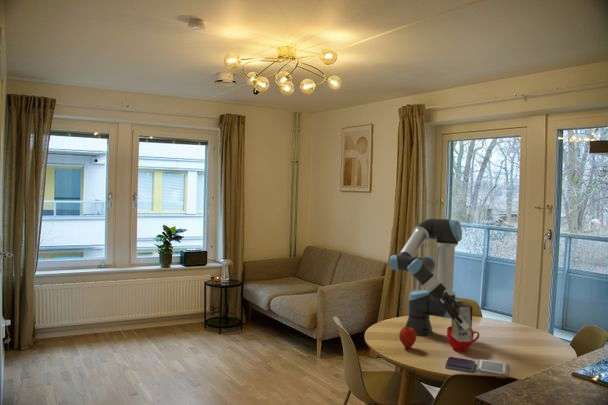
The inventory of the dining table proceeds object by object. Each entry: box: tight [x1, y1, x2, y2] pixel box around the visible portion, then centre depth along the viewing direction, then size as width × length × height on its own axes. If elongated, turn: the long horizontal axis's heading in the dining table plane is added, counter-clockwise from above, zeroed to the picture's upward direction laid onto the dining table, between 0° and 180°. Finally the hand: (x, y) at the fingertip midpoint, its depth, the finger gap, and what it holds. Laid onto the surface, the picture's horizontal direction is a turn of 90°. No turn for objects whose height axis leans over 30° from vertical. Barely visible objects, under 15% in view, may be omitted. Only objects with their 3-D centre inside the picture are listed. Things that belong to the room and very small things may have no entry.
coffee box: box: [451, 301, 473, 342], centre depth 218 cm, size 9×6×16 cm
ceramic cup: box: [446, 325, 480, 352], centre depth 242 cm, size 13×17×10 cm
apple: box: [398, 326, 417, 349], centre depth 241 cm, size 9×8×11 cm
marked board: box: [475, 358, 509, 377], centre depth 217 cm, size 13×15×1 cm
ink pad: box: [445, 356, 476, 373], centre depth 219 cm, size 12×12×2 cm
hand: (468, 324), depth 217 cm, fingers closed on coffee box, 11 cm apart
